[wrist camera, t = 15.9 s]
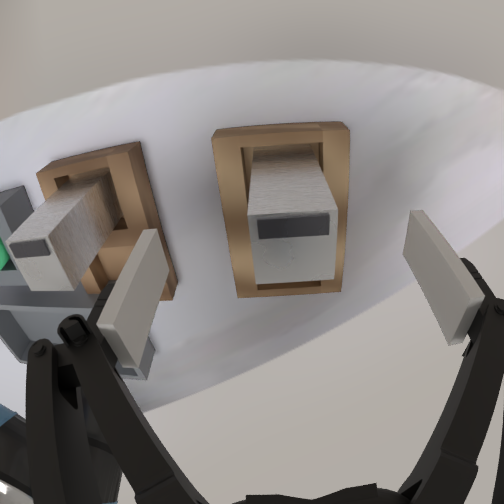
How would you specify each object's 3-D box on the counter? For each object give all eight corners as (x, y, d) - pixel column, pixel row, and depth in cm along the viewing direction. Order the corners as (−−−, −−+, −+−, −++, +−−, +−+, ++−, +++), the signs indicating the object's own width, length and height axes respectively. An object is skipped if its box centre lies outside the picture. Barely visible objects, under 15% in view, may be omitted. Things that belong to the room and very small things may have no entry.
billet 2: (310, 193, 24) (334, 281, 16) (258, 196, 25) (255, 286, 16) (309, 143, 22) (338, 211, 14) (253, 147, 22) (247, 217, 14)
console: (55, 260, 30) (38, 285, 26) (6, 264, 30) (-11, 285, 27) (23, 185, 24) (-1, 206, 21) (-25, 200, 25) (-46, 218, 22)
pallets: (336, 273, 29) (340, 291, 27) (99, 284, 31) (91, 301, 29) (341, 121, 21) (349, 130, 19) (51, 162, 23) (35, 173, 21)
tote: (155, 350, 38) (146, 380, 34) (31, 340, 39) (19, 362, 36) (120, 276, 31) (105, 308, 27) (-9, 280, 32) (-25, 303, 29)
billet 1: (126, 210, 25) (73, 292, 17) (88, 215, 26) (30, 292, 18) (113, 166, 23) (46, 237, 15) (74, 174, 24) (3, 243, 15)
